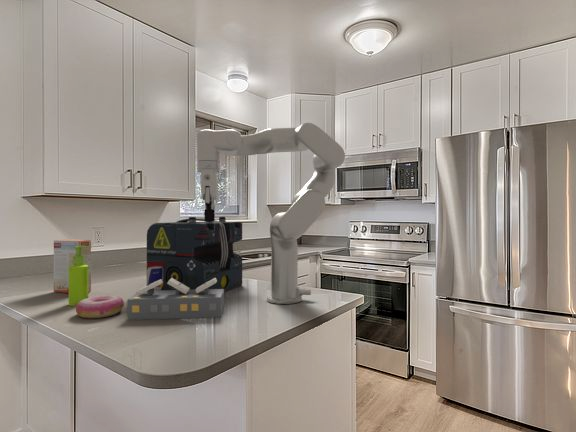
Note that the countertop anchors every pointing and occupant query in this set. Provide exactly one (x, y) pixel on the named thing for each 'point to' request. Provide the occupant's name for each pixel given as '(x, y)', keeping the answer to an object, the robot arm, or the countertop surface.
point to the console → (175, 304)
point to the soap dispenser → (78, 278)
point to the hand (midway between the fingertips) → (209, 221)
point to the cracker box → (69, 262)
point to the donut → (99, 306)
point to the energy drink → (155, 276)
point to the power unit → (196, 252)
